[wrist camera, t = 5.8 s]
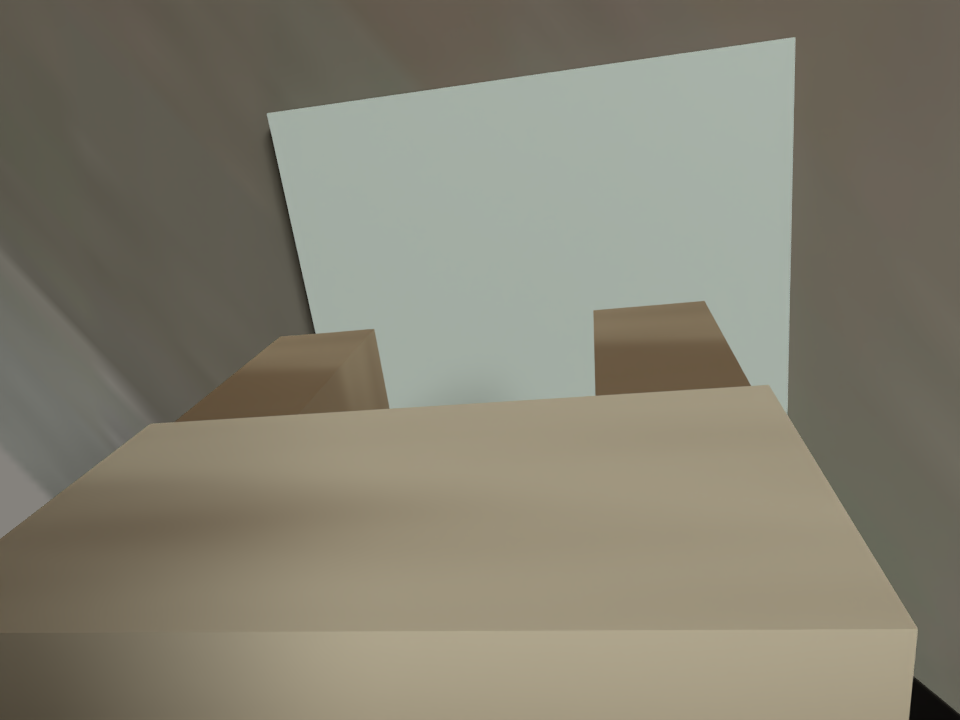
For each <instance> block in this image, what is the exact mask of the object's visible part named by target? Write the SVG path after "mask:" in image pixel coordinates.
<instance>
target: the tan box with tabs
mask: <svg viewBox="0 0 960 720" xmlns="http://www.w3.org/2000/svg"><path fill="white" fill-rule="evenodd" d="M593 318H594V359H595V396H584V397H568V398H552V399H536V400H520V401H504V402H488V403H473V404H457V405H441V406H425V407H409V408H393V409H390V408H389V403H388V398H387V393H386V387H385V382H384V377H383V372H382V366H381V361H380V356H379V351H378V346H377V340H376V335H375V330H374V329H366V330H354V331H342V332H330V333H319V334H307V335H295V336H283V337H279V338H278V339H277V340H275V341H274V342H273V343H272V344H270V345H269V346H268V347H267V348H266V349H264V350H263V351H262V352H261V353H259V354H258V355H257V356H256V357H254V358H253V359H252V360H251V361H249V362H248V363H247V364H246V365H244V366H243V367H242V368H241V369H239V370H238V371H237V372H236V373H235V374H233V375H232V376H231V377H230V378H228V379H227V380H226V381H225V382H223V383H222V384H221V385H220V386H218V387H217V388H216V389H215V390H213V391H212V392H211V393H210V394H209V395H207V396H206V397H205V398H204V399H202V400H201V401H200V402H199V403H197V404H196V405H195V406H194V407H192V408H191V409H190V410H189V411H187V412H186V413H185V414H184V415H182V416H181V417H180V418H179V419H178V420H176V421H175V422H171V423H155V424H149V425H148V426H147V427H146V428H144V429H143V430H142V431H140V432H139V433H138V434H136V435H135V436H134V437H133V438H131V439H130V440H129V441H127V442H126V443H125V444H123V445H122V446H121V447H119V448H118V449H117V450H116V451H114V452H113V453H112V454H110V455H109V456H108V457H106V458H105V459H104V460H103V461H101V462H100V463H99V464H97V465H96V466H95V467H93V468H92V469H91V470H89V471H88V472H87V473H86V474H84V475H83V476H82V477H80V478H79V479H78V480H76V481H75V482H74V483H73V484H71V485H70V486H69V487H67V488H66V489H65V490H63V491H62V492H61V493H59V494H58V495H57V496H56V497H54V498H53V499H52V500H50V501H49V502H48V503H46V504H45V505H44V506H43V507H41V508H40V509H39V510H37V511H36V512H35V513H33V514H32V515H31V516H29V517H28V518H27V519H26V520H25V521H23V522H22V523H20V524H19V525H18V526H16V527H15V528H14V529H13V530H11V531H10V532H9V533H7V534H6V535H5V536H3V537H2V538H1V539H0V720H909V713H910V703H911V693H912V683H913V673H914V663H915V653H916V643H917V633H918V628H917V627H916V625H915V623H914V622H913V620H912V619H911V617H910V615H909V614H908V612H907V610H906V609H905V607H904V605H903V604H902V602H901V601H900V599H899V597H898V596H897V594H896V592H895V591H894V589H893V587H892V586H891V584H890V583H889V581H888V579H887V578H886V576H885V574H884V573H883V571H882V569H881V568H880V566H879V565H878V563H877V561H876V560H875V558H874V556H873V555H872V553H871V551H870V550H869V548H868V547H867V545H866V543H865V542H864V540H863V538H862V537H861V535H860V533H859V532H858V530H857V528H856V527H855V525H854V524H853V522H852V520H851V519H850V517H849V515H848V514H847V512H846V510H845V509H844V507H843V506H842V504H841V502H840V501H839V499H838V497H837V496H836V494H835V492H834V491H833V489H832V488H831V486H830V484H829V483H828V481H827V479H826V478H825V476H824V474H823V473H822V471H821V470H820V468H819V466H818V465H817V463H816V461H815V460H814V458H813V456H812V455H811V453H810V451H809V450H808V448H807V447H806V445H805V443H804V442H803V440H802V438H801V437H800V435H799V433H798V432H797V430H796V429H795V427H794V425H793V424H792V422H791V420H790V419H789V417H788V415H787V414H786V412H785V411H784V409H783V407H782V406H781V404H780V402H779V401H778V399H777V397H776V396H775V394H774V393H773V391H772V389H771V388H770V386H769V385H758V386H751V385H750V383H749V381H748V379H747V377H746V376H745V374H744V372H743V370H742V368H741V367H740V365H739V363H738V361H737V359H736V357H735V356H734V354H733V352H732V350H731V348H730V346H729V345H728V343H727V341H726V339H725V337H724V336H723V334H722V332H721V330H720V328H719V326H718V325H717V323H716V321H715V319H714V317H713V316H712V314H711V312H710V310H709V308H708V306H707V305H706V303H705V301H697V302H685V303H674V304H662V305H650V306H638V307H626V308H614V309H603V310H593Z"/></svg>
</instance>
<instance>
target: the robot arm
mask: <svg viewBox="0 0 960 720" xmlns="http://www.w3.org/2000/svg"><path fill="white" fill-rule="evenodd" d="M909 720H960V714H959V713H958V712H956V711H955V710H954V709H953V708H951V707H950V706H949V705H948V704H947V703H945V702H944V701H943V700H942V699H941V698H939V697H938V696H937V695H936V694H934V693H933V692H932V691H931V690H930V689H928V688H927V687H926V686H925V685H923V684H922V683H921V682H920V681H919V680H917V679H916V678H915V677H914V676H913V683H912V693H911V703H910V713H909Z"/></svg>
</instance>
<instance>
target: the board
mask: <svg viewBox="0 0 960 720" xmlns="http://www.w3.org/2000/svg"><path fill="white" fill-rule="evenodd" d="M794 78H795V37H794V38H787V39H780V40H773V41H766V42H759V43H752V44H745V45H738V46H731V47H724V48H717V49H710V50H703V51H697V52H690V53H683V54H676V55H669V56H662V57H655V58H648V59H641V60H634V61H627V62H620V63H613V64H606V65H599V66H593V67H586V68H579V69H572V70H565V71H558V72H551V73H544V74H537V75H530V76H523V77H516V78H509V79H502V80H495V81H489V82H482V83H475V84H468V85H461V86H454V87H447V88H440V89H433V90H426V91H419V92H412V93H405V94H398V95H392V96H385V97H378V98H371V99H364V100H357V101H350V102H343V103H336V104H329V105H322V106H315V107H308V108H301V109H294V110H288V111H281V112H274V113H267V117H268V121H269V126H270V130H271V135H272V139H273V144H274V148H275V153H276V157H277V162H278V166H279V171H280V175H281V180H282V184H283V189H284V193H285V198H286V202H287V207H288V211H289V216H290V220H291V225H292V229H293V234H294V238H295V243H296V247H297V252H298V256H299V261H300V265H301V270H302V274H303V279H304V283H305V288H306V292H307V297H308V301H309V306H310V311H311V315H312V320H313V324H314V329H315V333H316V334H319V333H330V332H342V331H354V330H366V329H374V330H375V335H376V340H377V346H378V351H379V356H380V361H381V366H382V372H383V377H384V382H385V387H386V393H387V398H388V403H389V408H390V409H393V408H409V407H425V406H441V405H457V404H473V403H488V402H504V401H520V400H536V399H552V398H568V397H584V396H595V359H594V318H593V310H603V309H614V308H626V307H638V306H650V305H662V304H674V303H685V302H697V301H705V303H706V305H707V306H708V308H709V310H710V312H711V314H712V316H713V317H714V319H715V321H716V323H717V325H718V326H719V328H720V330H721V332H722V334H723V336H724V337H725V339H726V341H727V343H728V345H729V346H730V348H731V350H732V352H733V354H734V356H735V357H736V359H737V361H738V363H739V365H740V367H741V368H742V370H743V372H744V374H745V376H746V377H747V379H748V381H749V383H750V385H751V386H758V385H769V386H770V388H771V389H772V391H773V393H774V394H775V396H776V397H777V399H778V401H779V402H780V404H781V406H782V407H783V409H784V411H785V412H786V414H787V405H788V358H789V311H790V265H791V218H792V171H793V124H794Z"/></svg>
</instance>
